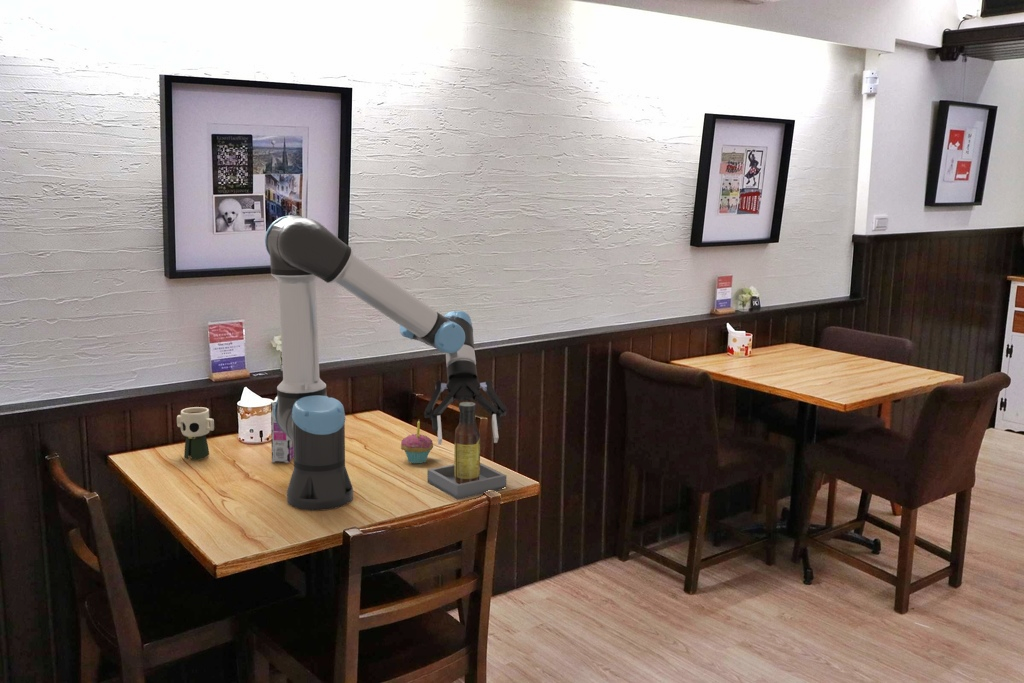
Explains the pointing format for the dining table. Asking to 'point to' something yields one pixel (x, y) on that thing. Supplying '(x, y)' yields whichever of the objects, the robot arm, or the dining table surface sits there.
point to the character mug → (195, 431)
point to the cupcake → (417, 446)
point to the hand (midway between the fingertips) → (468, 441)
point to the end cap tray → (446, 482)
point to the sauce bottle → (467, 445)
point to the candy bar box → (280, 441)
